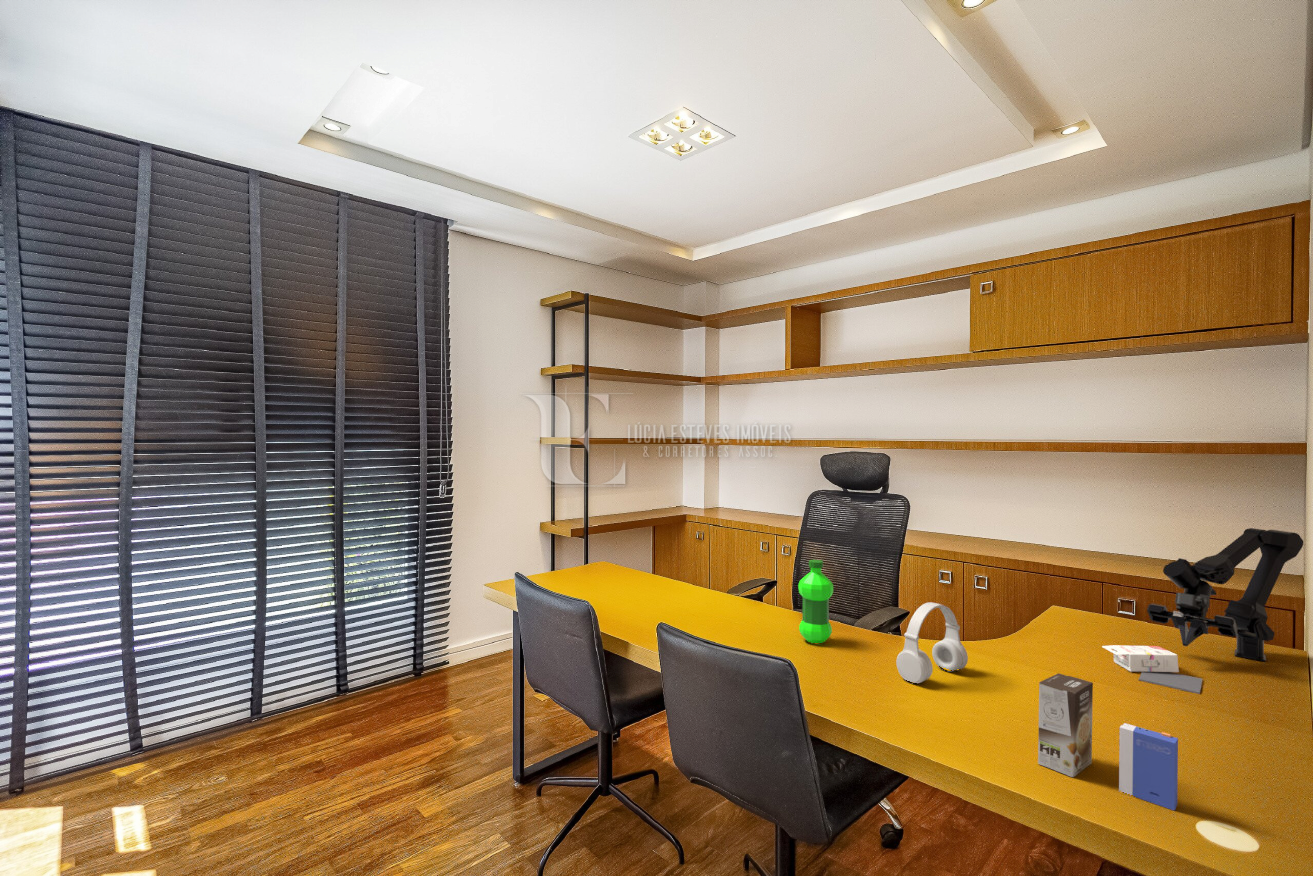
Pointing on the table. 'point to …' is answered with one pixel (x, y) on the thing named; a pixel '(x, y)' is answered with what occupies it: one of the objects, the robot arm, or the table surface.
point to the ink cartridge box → (1144, 658)
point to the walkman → (1148, 765)
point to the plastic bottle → (815, 604)
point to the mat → (1173, 680)
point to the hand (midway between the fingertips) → (1184, 645)
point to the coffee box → (1065, 724)
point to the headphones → (944, 652)
